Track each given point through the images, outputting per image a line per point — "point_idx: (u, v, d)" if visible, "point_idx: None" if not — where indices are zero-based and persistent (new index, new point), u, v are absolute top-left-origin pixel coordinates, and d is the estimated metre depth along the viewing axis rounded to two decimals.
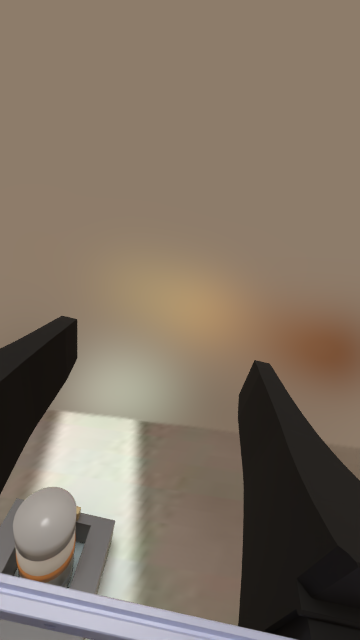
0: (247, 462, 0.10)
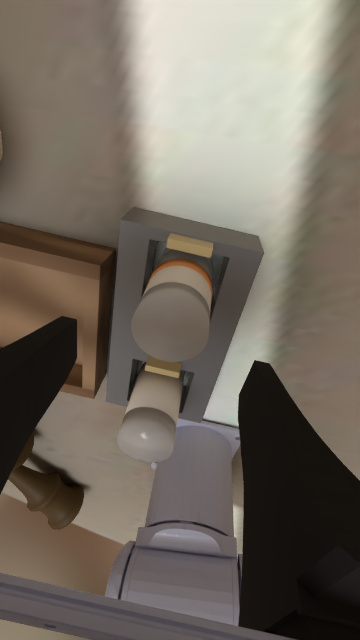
0: (247, 462, 0.10)
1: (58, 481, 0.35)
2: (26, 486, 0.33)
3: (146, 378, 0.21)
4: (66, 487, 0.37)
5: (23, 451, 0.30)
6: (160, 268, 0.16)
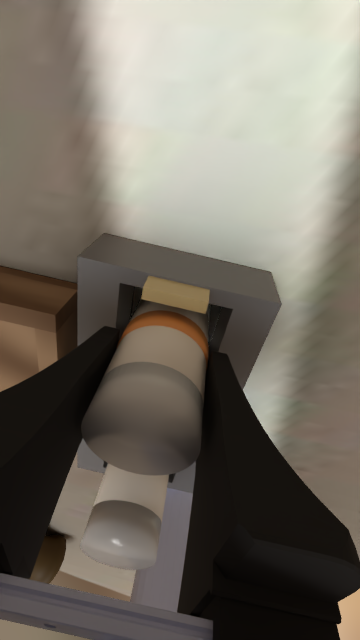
0: None
1: None
2: None
3: None
4: (45, 540, 0.32)
5: None
6: (133, 327, 0.11)
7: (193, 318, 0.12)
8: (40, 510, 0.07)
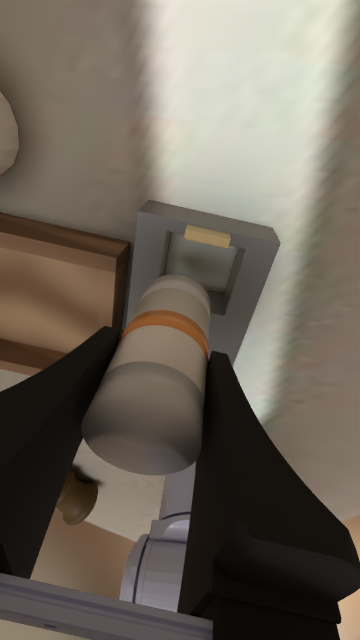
0: None
1: (72, 477, 0.35)
2: None
3: None
4: (80, 483, 0.37)
5: None
6: (133, 327, 0.11)
7: (193, 318, 0.12)
8: (40, 510, 0.07)
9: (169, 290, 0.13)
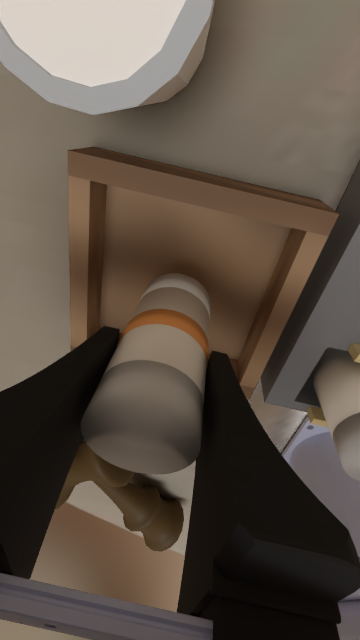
0: None
1: (158, 495, 0.30)
2: (127, 502, 0.28)
3: (347, 371, 0.16)
4: (164, 501, 0.32)
5: None
6: (133, 326, 0.11)
7: (194, 317, 0.12)
8: (40, 510, 0.07)
9: (169, 289, 0.13)
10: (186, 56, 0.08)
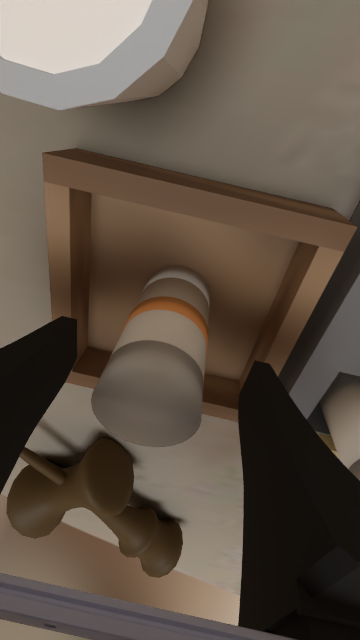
0: (247, 462, 0.10)
1: (155, 518, 0.29)
2: (122, 527, 0.27)
3: None
4: (161, 523, 0.30)
5: (127, 487, 0.24)
6: (138, 312, 0.12)
7: (194, 304, 0.13)
8: None
9: (171, 279, 0.14)
10: (174, 33, 0.06)
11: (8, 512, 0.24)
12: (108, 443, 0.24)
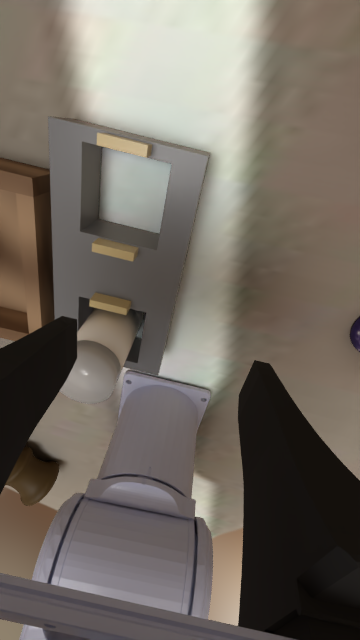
0: (247, 462, 0.10)
1: (29, 454, 0.33)
2: None
3: (93, 317, 0.19)
4: (39, 461, 0.35)
5: None
6: None
7: None
8: None
9: None
10: None
11: None
12: None
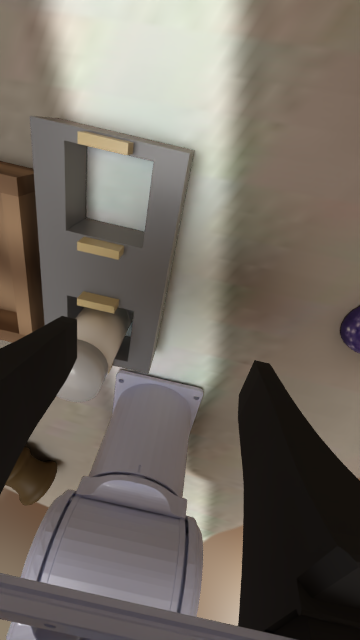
0: (247, 462, 0.10)
1: (26, 454, 0.33)
2: None
3: (81, 315, 0.19)
4: (37, 461, 0.35)
5: None
6: None
7: None
8: None
9: None
10: None
11: None
12: None
